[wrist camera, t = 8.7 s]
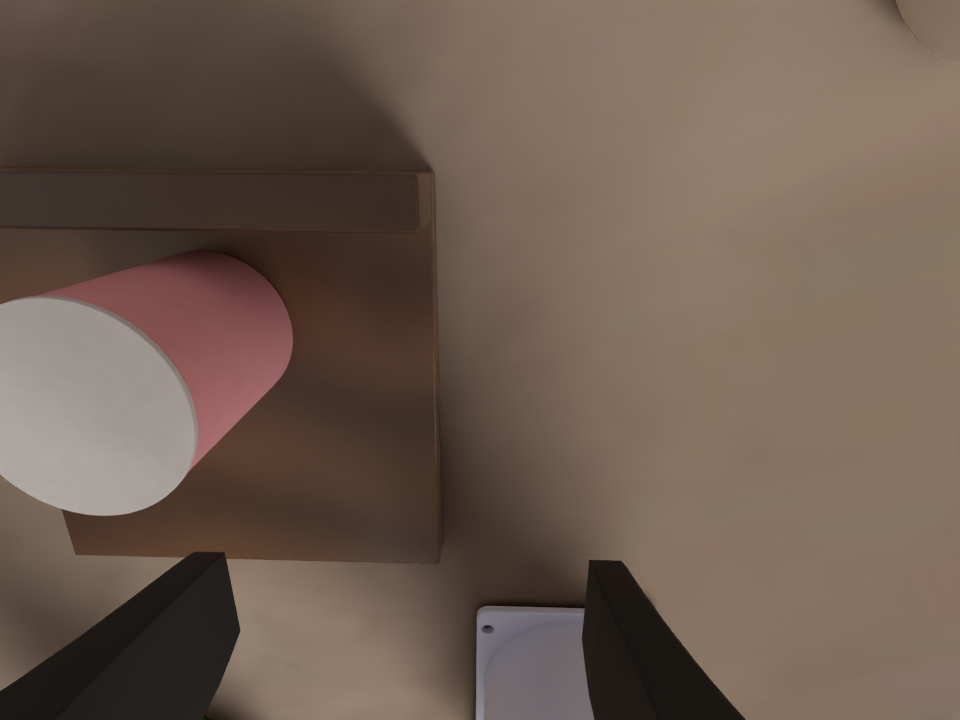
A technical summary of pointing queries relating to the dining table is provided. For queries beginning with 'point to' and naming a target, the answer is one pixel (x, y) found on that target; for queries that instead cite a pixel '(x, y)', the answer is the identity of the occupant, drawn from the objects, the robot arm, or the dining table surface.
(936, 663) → the dining table surface
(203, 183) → the serving board
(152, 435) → the yogurt pot
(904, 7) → the plastic bottle
